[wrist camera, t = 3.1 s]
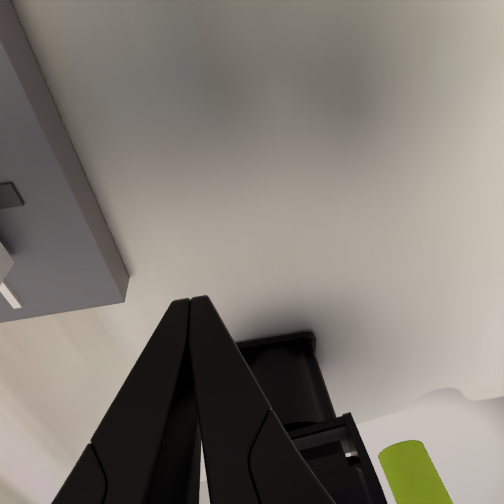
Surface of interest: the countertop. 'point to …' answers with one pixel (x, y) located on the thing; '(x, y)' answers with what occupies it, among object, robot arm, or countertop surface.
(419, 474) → the soap dispenser
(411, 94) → the countertop surface
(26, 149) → the gray slotted panel
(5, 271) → the fader
